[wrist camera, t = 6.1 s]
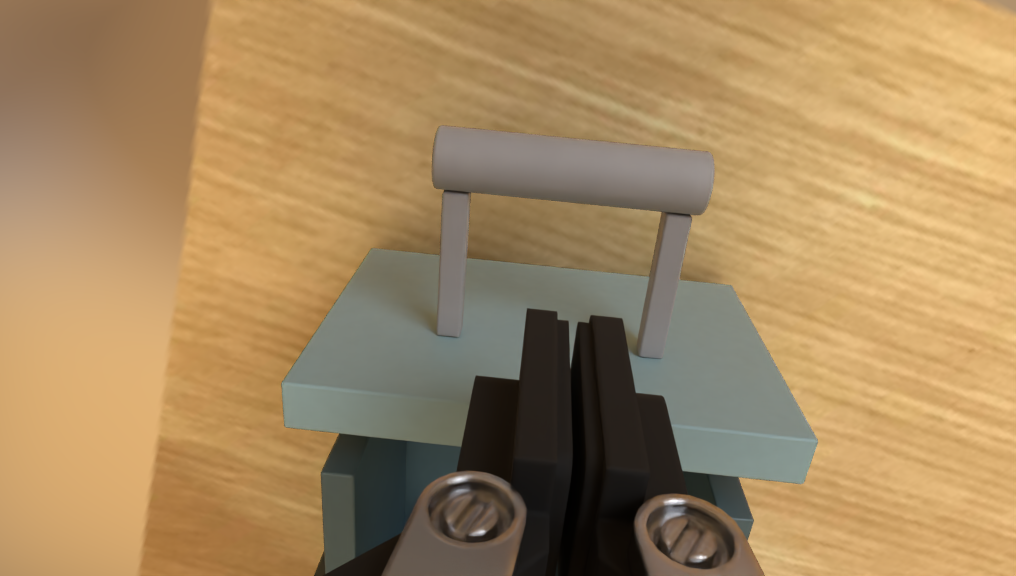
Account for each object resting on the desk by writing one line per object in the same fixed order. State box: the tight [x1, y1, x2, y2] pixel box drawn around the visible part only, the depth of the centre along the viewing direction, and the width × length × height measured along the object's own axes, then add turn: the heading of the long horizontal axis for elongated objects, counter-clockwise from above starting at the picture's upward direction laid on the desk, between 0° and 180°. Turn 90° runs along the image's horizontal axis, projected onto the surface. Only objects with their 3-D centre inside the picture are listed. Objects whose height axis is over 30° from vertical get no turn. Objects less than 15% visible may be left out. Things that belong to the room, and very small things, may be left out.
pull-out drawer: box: [281, 125, 818, 576], centre depth 20 cm, size 19×11×8 cm, turn 175°
